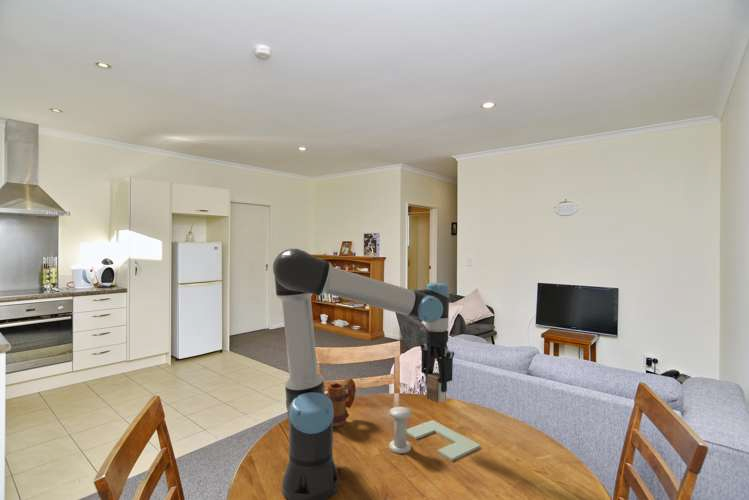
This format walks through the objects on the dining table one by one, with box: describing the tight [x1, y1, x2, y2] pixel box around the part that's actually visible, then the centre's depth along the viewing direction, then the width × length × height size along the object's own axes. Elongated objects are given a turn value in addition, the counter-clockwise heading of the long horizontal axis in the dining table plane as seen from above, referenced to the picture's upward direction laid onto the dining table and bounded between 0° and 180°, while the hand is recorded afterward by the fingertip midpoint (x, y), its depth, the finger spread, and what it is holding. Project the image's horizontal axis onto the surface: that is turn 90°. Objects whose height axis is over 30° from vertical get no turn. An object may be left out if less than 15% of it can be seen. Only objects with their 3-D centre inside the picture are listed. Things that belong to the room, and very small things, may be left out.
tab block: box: [426, 371, 447, 404], centre depth 127 cm, size 4×4×8 cm
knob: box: [388, 406, 413, 455], centre depth 123 cm, size 7×7×12 cm
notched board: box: [407, 419, 481, 462], centre depth 129 cm, size 14×22×1 cm, turn 37°
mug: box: [325, 377, 357, 427], centre depth 141 cm, size 15×8×15 cm, turn 143°
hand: (435, 398), depth 127 cm, fingers closed on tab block, 4 cm apart
